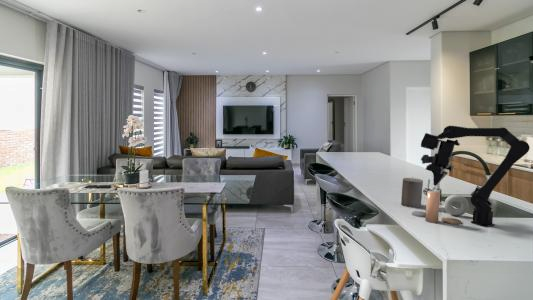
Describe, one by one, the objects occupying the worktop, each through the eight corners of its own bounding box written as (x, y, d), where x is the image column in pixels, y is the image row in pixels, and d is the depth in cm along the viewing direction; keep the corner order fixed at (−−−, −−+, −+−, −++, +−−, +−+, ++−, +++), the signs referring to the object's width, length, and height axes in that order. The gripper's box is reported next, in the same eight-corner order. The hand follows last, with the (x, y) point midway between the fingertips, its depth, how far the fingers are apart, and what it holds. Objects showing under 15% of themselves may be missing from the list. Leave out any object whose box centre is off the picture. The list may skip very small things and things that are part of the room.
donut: (443, 215, 153) (445, 194, 152) (443, 213, 156) (444, 192, 155) (468, 217, 149) (470, 196, 148) (467, 215, 152) (468, 194, 151)
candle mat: (433, 216, 151) (433, 215, 151) (420, 217, 148) (421, 216, 148) (420, 211, 158) (420, 210, 158) (408, 213, 155) (408, 212, 155)
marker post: (440, 222, 142) (442, 193, 141) (432, 223, 140) (434, 193, 139) (431, 219, 147) (433, 190, 145) (422, 220, 145) (424, 191, 144)
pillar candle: (397, 204, 171) (399, 176, 169) (406, 201, 177) (408, 174, 175) (415, 209, 163) (417, 179, 162) (424, 205, 170) (426, 177, 168)
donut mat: (465, 223, 141) (465, 221, 141) (452, 224, 139) (452, 223, 139) (449, 218, 148) (450, 216, 148) (437, 219, 146) (437, 218, 146)
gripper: (433, 147, 159) (424, 177, 162) (419, 148, 146) (409, 181, 149) (458, 154, 152) (448, 185, 155) (445, 155, 138) (434, 189, 142)
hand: (434, 185), depth 150 cm, fingers closed
